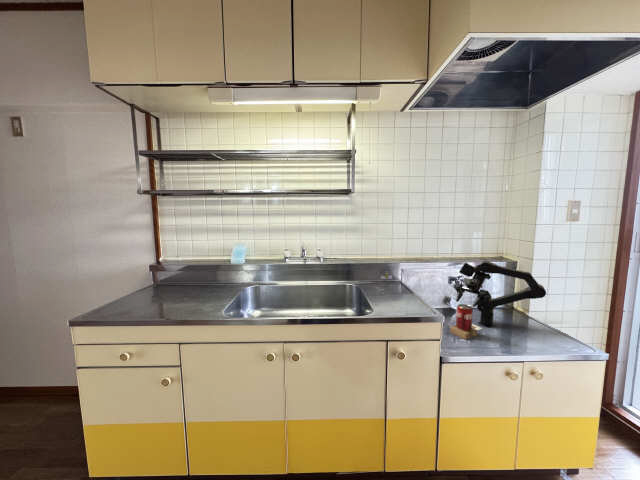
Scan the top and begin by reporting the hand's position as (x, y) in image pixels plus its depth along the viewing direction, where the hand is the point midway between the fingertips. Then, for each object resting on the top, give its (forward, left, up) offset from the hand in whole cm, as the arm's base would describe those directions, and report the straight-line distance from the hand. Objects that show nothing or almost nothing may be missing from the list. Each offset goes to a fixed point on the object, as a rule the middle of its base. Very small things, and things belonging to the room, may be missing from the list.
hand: (464, 304), depth 147 cm
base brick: (+7, +5, -14) cm, 16 cm away
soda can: (+6, +5, -11) cm, 13 cm away
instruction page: (-3, +2, -14) cm, 14 cm away
